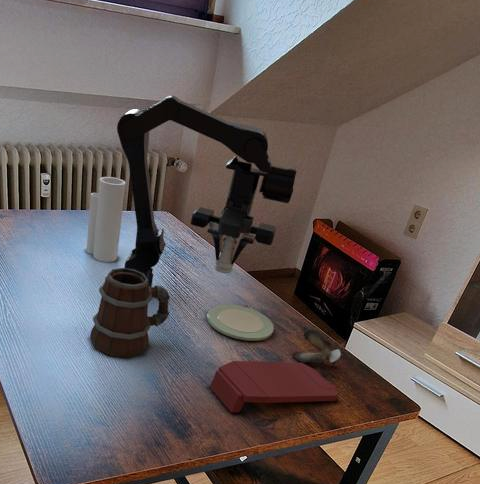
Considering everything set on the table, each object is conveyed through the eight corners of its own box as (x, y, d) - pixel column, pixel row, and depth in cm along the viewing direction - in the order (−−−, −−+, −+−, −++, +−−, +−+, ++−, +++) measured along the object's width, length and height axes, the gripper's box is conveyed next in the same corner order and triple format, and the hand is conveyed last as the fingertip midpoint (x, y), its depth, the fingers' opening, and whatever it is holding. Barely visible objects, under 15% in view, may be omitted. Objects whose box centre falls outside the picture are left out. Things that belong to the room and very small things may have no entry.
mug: (99, 359, 106) (106, 290, 97) (85, 329, 114) (91, 262, 105) (172, 356, 111) (186, 289, 102) (154, 327, 120) (165, 263, 111)
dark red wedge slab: (296, 381, 118) (204, 381, 105) (306, 362, 115) (213, 360, 102) (331, 414, 110) (236, 419, 97) (343, 395, 107) (247, 397, 94)
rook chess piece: (212, 264, 128) (220, 232, 123) (230, 267, 129) (238, 234, 124) (215, 272, 125) (223, 239, 120) (233, 275, 125) (242, 241, 120)
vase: (121, 261, 146) (130, 185, 134) (97, 262, 143) (104, 184, 131) (104, 244, 153) (111, 171, 141) (80, 246, 150) (86, 170, 138)
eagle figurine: (335, 351, 122) (299, 335, 122) (351, 337, 115) (313, 320, 115) (326, 379, 119) (290, 363, 119) (342, 367, 113) (303, 350, 112)
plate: (231, 346, 118) (233, 341, 117) (193, 312, 129) (195, 307, 128) (286, 337, 126) (287, 332, 125) (246, 306, 136) (247, 301, 135)
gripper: (192, 191, 111) (178, 262, 120) (279, 213, 108) (258, 284, 118) (203, 180, 120) (189, 247, 129) (284, 200, 117) (264, 267, 127)
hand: (224, 261), depth 125 cm, fingers closed on rook chess piece, 3 cm apart
